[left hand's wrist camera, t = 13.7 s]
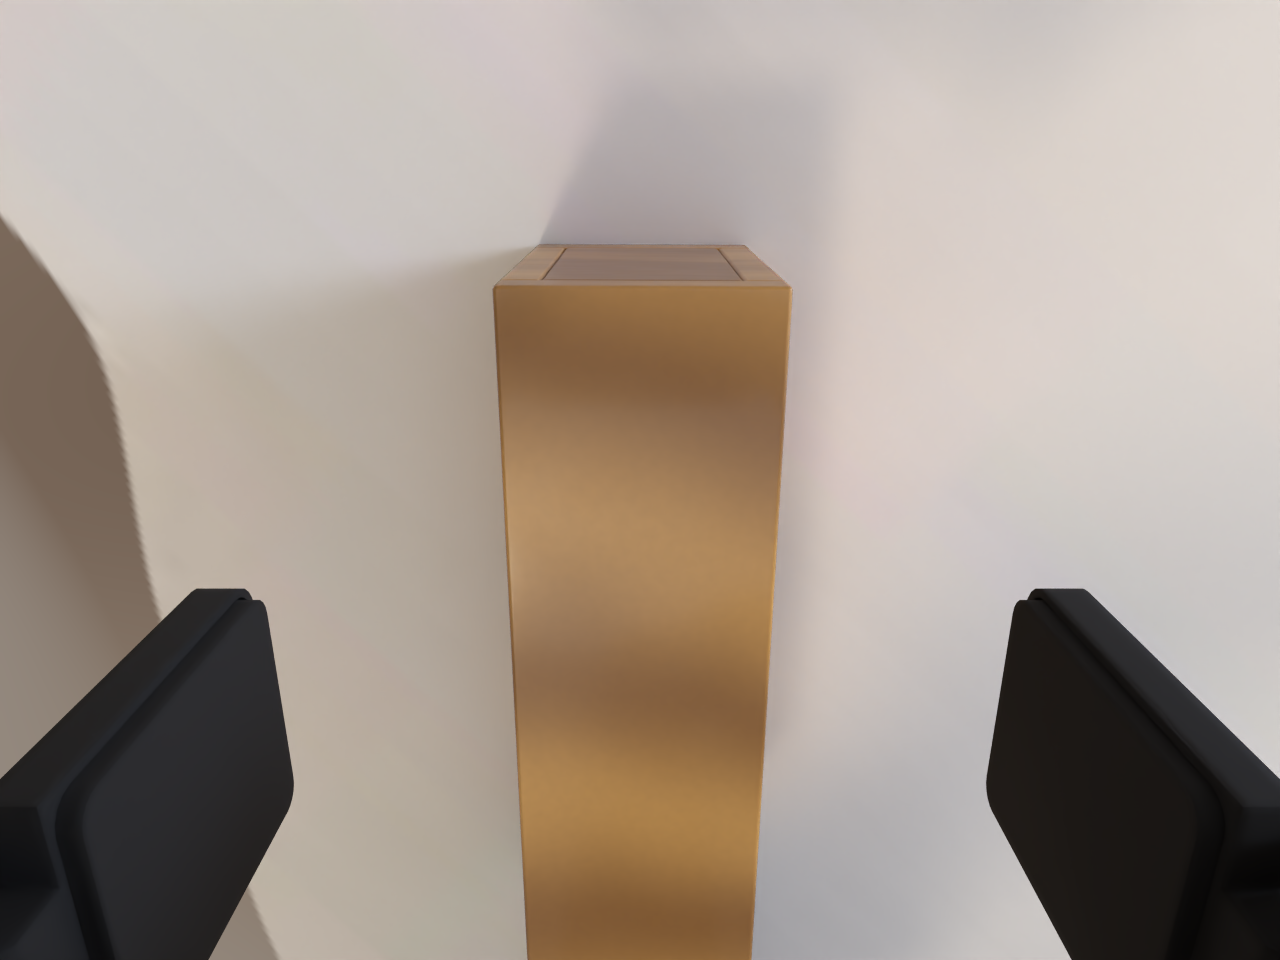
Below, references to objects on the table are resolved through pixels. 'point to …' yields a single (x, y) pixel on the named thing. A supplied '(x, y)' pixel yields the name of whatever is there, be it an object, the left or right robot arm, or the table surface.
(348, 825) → the table surface
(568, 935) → the cabinet
